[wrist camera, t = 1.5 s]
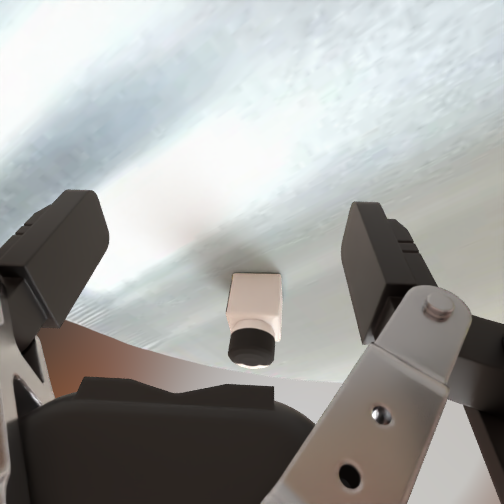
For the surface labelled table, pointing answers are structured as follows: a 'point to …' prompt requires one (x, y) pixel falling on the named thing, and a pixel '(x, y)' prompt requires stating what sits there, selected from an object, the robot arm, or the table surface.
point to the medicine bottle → (254, 318)
